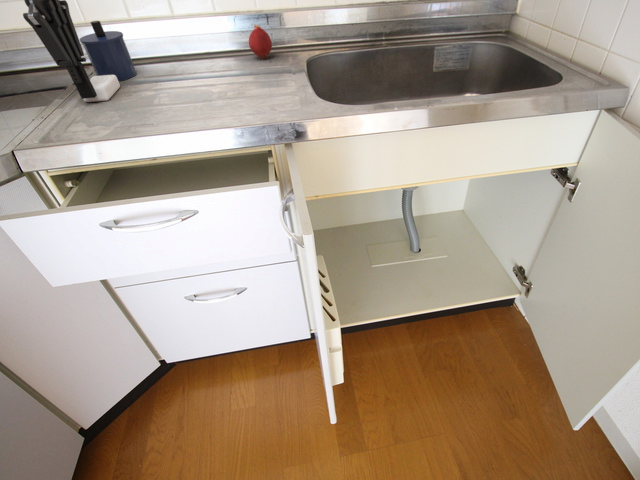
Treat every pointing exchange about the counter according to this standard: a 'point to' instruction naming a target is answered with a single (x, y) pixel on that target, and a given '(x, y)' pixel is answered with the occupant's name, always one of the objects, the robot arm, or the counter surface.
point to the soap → (103, 87)
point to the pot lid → (100, 35)
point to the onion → (260, 42)
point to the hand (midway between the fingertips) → (89, 96)
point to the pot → (111, 59)
